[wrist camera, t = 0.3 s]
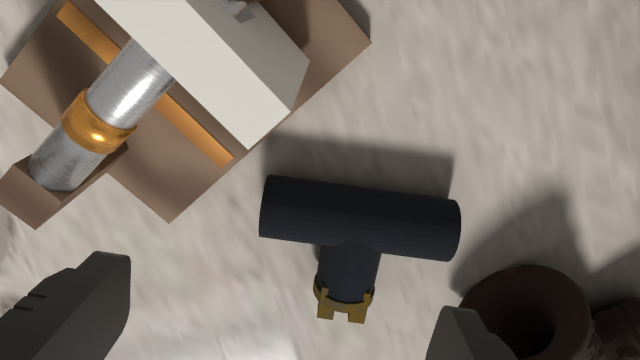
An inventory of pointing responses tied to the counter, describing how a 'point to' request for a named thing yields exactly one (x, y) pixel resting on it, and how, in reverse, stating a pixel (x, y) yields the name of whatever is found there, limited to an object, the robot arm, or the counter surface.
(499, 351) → the robot arm
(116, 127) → the steel pipe
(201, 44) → the white flat block
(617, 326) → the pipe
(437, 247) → the pipe connector
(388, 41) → the counter surface
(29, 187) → the pipe stand
